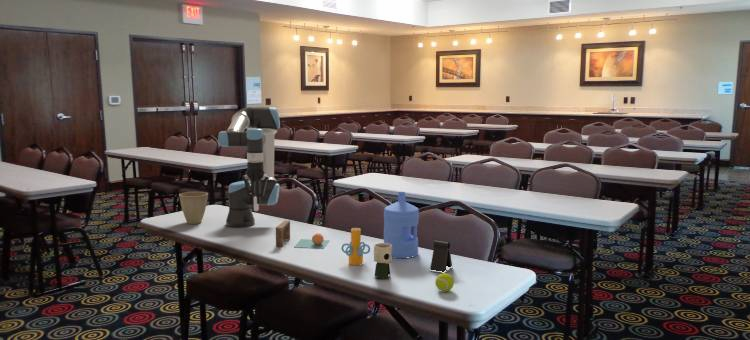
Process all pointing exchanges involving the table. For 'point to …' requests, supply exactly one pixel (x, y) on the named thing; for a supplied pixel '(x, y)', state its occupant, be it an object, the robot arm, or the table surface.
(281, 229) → the bridge
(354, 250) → the orange post with rings
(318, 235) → the ball
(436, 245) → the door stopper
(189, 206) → the plant pot
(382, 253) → the character mug
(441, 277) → the tennis ball
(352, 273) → the table surface
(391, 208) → the water jug
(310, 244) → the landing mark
